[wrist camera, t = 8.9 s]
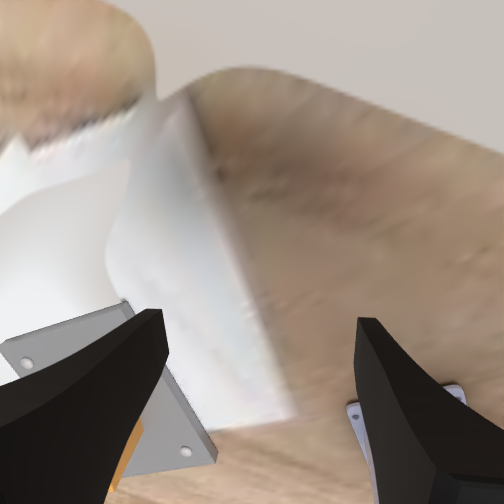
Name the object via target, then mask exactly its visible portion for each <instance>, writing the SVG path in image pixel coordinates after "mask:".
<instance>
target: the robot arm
mask: <svg viewBox="0 0 504 504" xmlns="http://www.w3.org/2000/svg"><path fill="white" fill-rule="evenodd" d="M168 355H169V348H168V342H167V336H166V330H165V324H164V319H163V313H162V309H145V310H143V311H141V312H140V313H138V314H137V315H135V316H133V317H132V318H130V319H129V320H127V321H126V322H124V323H123V324H121V325H120V326H118V327H116V328H115V329H113V330H112V331H110V332H109V333H107V334H106V335H104V336H102V337H101V338H99V339H97V340H96V341H94V342H92V343H91V344H89V345H87V346H86V347H84V348H82V349H81V350H79V351H77V352H75V353H74V354H72V355H70V356H68V357H66V358H64V359H62V360H60V361H58V362H56V363H54V364H52V365H50V366H48V367H46V368H44V369H41V370H39V371H37V372H34V373H32V374H29V375H27V376H25V377H22V378H20V379H18V380H15V381H13V382H10V383H7V384H5V385H2V386H0V504H104V501H105V498H106V495H107V493H108V490H109V487H110V485H111V482H112V479H113V477H114V474H115V471H116V469H117V466H118V464H119V461H120V459H121V456H122V454H123V451H124V449H125V446H126V444H127V441H128V439H129V437H130V435H131V433H132V431H133V429H134V427H135V425H136V423H137V421H138V419H139V417H140V416H141V414H142V412H143V410H144V408H145V406H146V404H147V402H148V400H149V399H150V397H151V395H152V393H153V391H154V389H155V387H156V385H157V383H158V381H159V379H160V377H161V375H162V372H163V369H164V367H165V364H166V361H167V358H168ZM354 372H355V381H356V390H357V394H358V399H359V402H357V403H351V404H349V405H347V407H346V409H347V414H348V417H349V419H350V422H351V424H352V426H353V429H354V431H355V434H356V436H357V439H358V441H359V444H360V446H361V448H362V451H363V453H364V456H365V458H366V461H367V463H368V466H369V472H370V478H371V484H372V490H373V496H374V502H375V504H504V430H503V429H501V428H500V427H498V426H496V425H495V424H493V423H492V422H490V421H489V420H487V419H485V418H484V417H483V416H481V415H480V414H478V413H477V412H475V411H474V410H472V409H471V408H470V407H468V406H467V403H466V399H465V395H464V392H463V390H462V388H461V387H460V386H459V385H449V386H444V387H442V386H441V385H440V384H438V383H437V382H436V381H435V380H434V379H433V378H431V377H430V376H429V375H428V374H427V373H426V372H425V371H424V370H423V369H422V368H421V367H420V366H419V365H418V364H417V363H416V362H415V361H414V360H413V359H412V358H411V357H410V356H409V355H408V354H407V353H406V352H405V351H404V350H403V349H402V348H401V347H400V345H399V344H398V343H397V342H396V341H395V340H394V339H393V337H392V336H391V335H390V334H389V333H388V332H387V330H386V329H385V328H384V327H383V325H382V324H381V323H380V322H379V321H378V320H377V319H376V318H366V317H358V319H357V331H356V342H355V353H354ZM456 397H457V398H456ZM355 414H356V415H355Z"/></svg>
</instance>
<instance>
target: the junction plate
mask: <svg viewBox="0 0 504 504" xmlns="http://www.w3.org/2000/svg"><path fill="white" fill-rule="evenodd" d="M133 316H135V314H134V312H133V311H132V309H131V307H130V306H129V304H128V302H127V301H126V302H123V303H120V304H117V305H114V306H110V307H107V308H104V309H101V310H98V311H95V312H92V313H89V314H85V315H83V316H79V317H76V318H73V319H70V320H67V321H63V322H60V323H57V324H54V325H51V326H48V327H45V328H42V329H38V330H35V331H32V332H29V333H26V334H23V335H20V336H16V337H13V338H11V339H7V340H5V341H4V342H3V343H2V344H0V353H1V354H2V355H3V357H4V358H5V359H6V360H7V362H8V363H9V364H10V365H11V367H12V368H13V369H14V370H15V372H16V373H17V374H18V376H19V377H20V378H22V377H25V376H27V375H29V374H32V373H34V372H37V371H39V370H41V369H44V368H46V367H48V366H50V365H52V364H54V363H56V362H58V361H60V360H62V359H64V358H66V357H68V356H70V355H72V354H74V353H75V352H77V351H79V350H81V349H82V348H84V347H86V346H87V345H89V344H91V343H92V342H94V341H96V340H97V339H99V338H101V337H102V336H104V335H106V334H107V333H109V332H110V331H112V330H113V329H115V328H116V327H118V326H120V325H121V324H123V323H124V322H126V321H127V320H129V319H130V318H132V317H133ZM140 418H141V422H142V426H143V430H144V431H143V433H142V436H141V438H140V440H139V442H138V444H137V446H136V448H135V450H134V452H133V454H132V456H131V458H130V460H129V462H128V464H127V466H126V468H125V471H124V473H123V475H122V477H121V478H124V477H130V476H137V475H143V474H150V473H156V472H163V471H170V470H176V469H183V468H189V467H196V466H202V465H209V464H215V463H216V459H217V455H218V451H217V450H216V448H215V447H214V445H213V443H212V442H211V440H210V438H209V437H208V435H207V433H206V432H205V430H204V428H203V427H202V425H201V423H200V422H199V420H198V418H197V417H196V415H195V413H194V412H193V410H192V408H191V407H190V405H189V403H188V402H187V400H186V398H185V397H184V395H183V393H182V392H181V390H180V388H179V387H178V385H177V384H176V382H175V380H174V379H173V377H172V375H171V374H170V372H169V370H168V369H167V367H166V365H165V367H164V369H163V372H162V375H161V377H160V379H159V381H158V383H157V385H156V387H155V389H154V391H153V393H152V395H151V397H150V399H149V400H148V402H147V404H146V406H145V408H144V410H143V412H142V414H141V416H140Z"/></svg>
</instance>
